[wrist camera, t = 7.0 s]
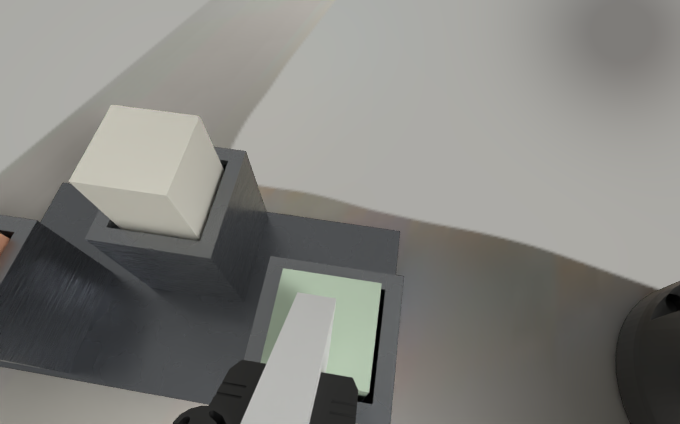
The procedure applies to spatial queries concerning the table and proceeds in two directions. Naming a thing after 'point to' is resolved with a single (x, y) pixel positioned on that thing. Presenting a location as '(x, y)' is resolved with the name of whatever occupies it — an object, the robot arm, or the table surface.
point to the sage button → (335, 321)
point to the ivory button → (151, 172)
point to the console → (178, 292)
